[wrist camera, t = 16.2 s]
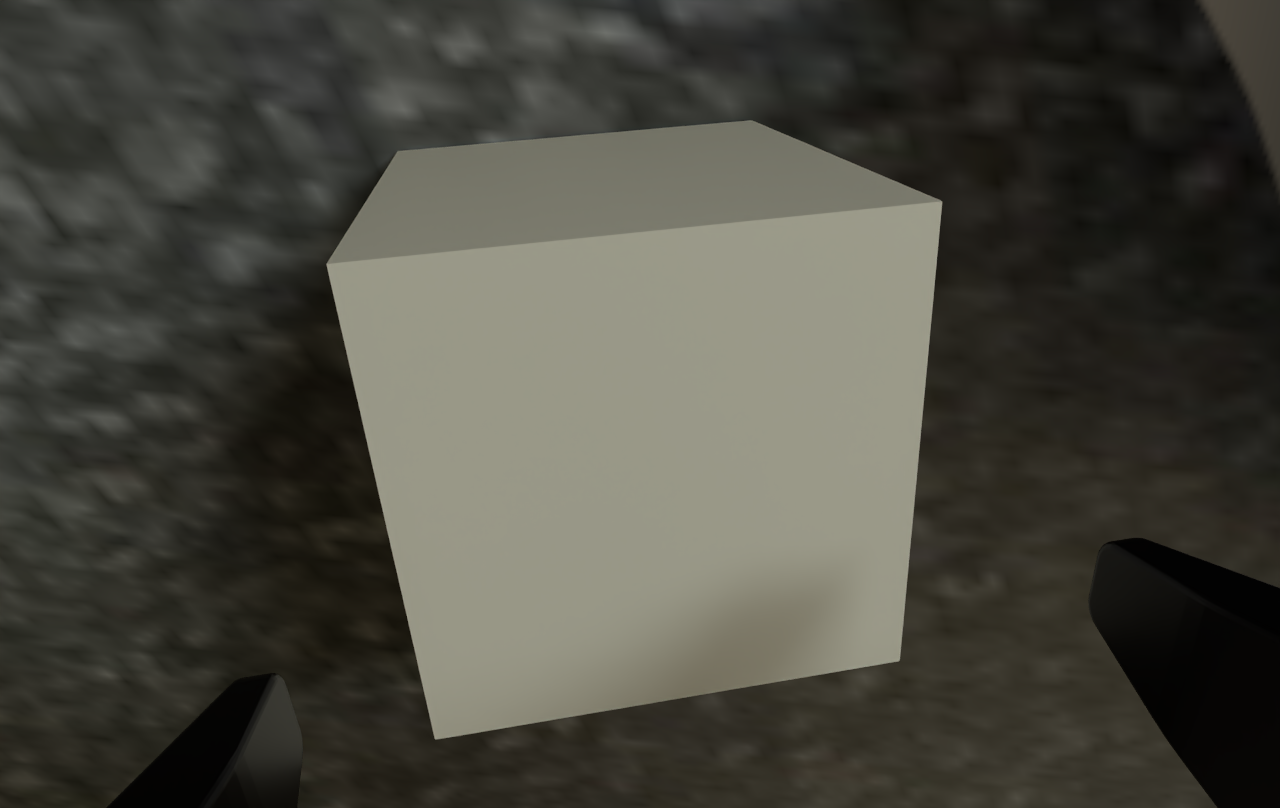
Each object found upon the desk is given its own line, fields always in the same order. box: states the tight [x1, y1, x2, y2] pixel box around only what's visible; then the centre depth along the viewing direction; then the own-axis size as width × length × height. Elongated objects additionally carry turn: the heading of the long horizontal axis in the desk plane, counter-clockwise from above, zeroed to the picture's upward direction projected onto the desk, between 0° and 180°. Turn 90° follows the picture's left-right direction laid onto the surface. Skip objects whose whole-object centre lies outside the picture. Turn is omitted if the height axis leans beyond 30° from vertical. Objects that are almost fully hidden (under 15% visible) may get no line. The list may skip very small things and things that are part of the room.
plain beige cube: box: [326, 120, 942, 740], centre depth 16 cm, size 8×8×9 cm
